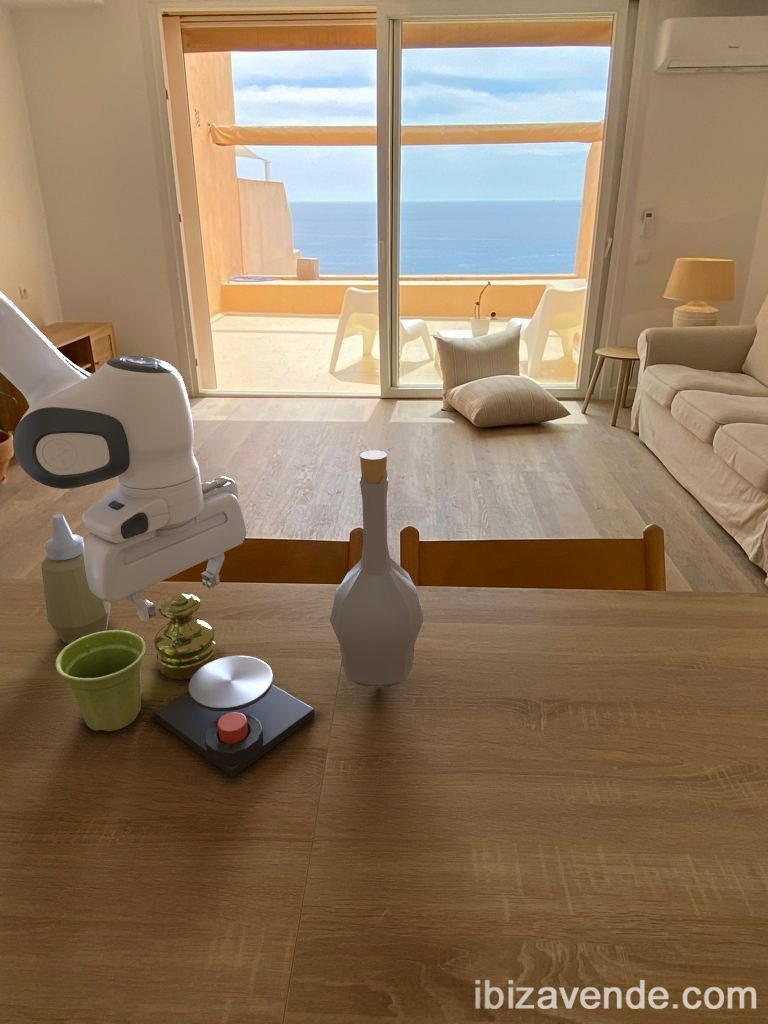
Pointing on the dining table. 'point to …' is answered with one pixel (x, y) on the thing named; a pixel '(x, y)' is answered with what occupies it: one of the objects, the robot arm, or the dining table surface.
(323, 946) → the dining table surface
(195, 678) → the weighing pan
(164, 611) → the gold ribbed tiered piece
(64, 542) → the squeeze bottle
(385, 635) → the bottle
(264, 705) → the scale
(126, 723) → the plant pot
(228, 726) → the tare button
